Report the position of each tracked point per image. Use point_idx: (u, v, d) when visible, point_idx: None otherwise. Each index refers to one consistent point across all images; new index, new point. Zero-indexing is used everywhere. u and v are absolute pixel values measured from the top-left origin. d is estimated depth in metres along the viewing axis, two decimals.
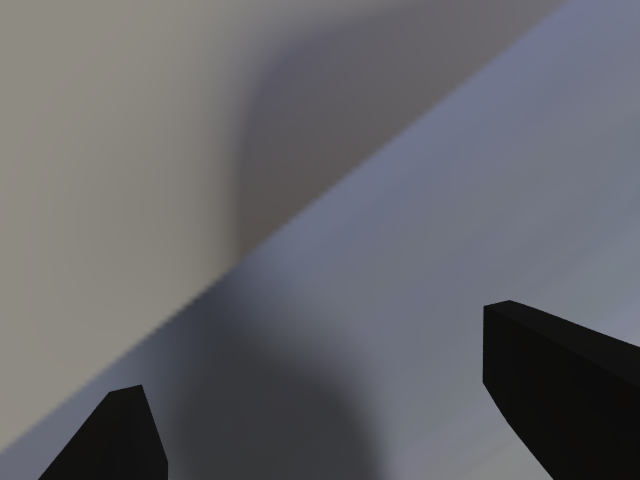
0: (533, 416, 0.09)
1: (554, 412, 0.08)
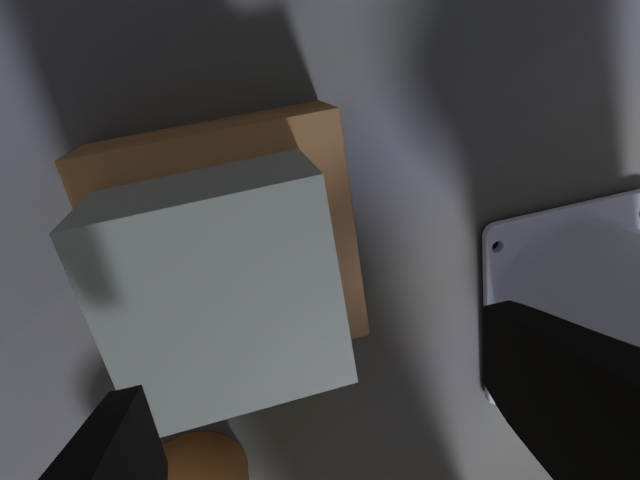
0: (533, 416, 0.09)
1: (554, 412, 0.08)
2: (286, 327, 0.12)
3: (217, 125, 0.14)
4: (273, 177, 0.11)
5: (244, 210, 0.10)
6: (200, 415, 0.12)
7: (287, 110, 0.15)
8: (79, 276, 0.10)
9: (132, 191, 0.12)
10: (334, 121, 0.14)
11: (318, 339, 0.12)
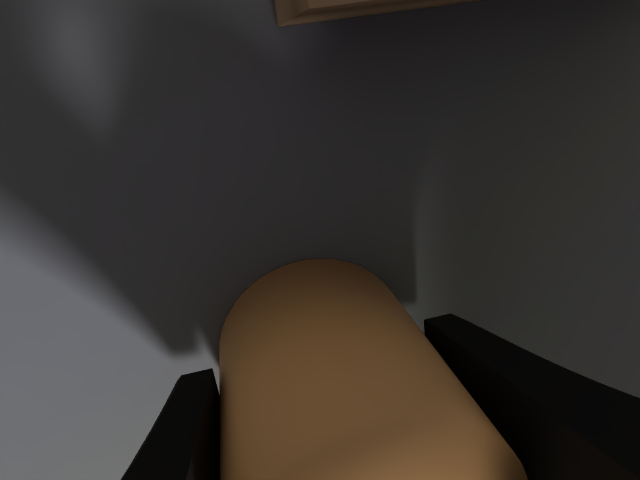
0: None
1: None
2: None
3: None
4: None
5: None
6: None
7: None
8: None
9: None
10: None
11: None
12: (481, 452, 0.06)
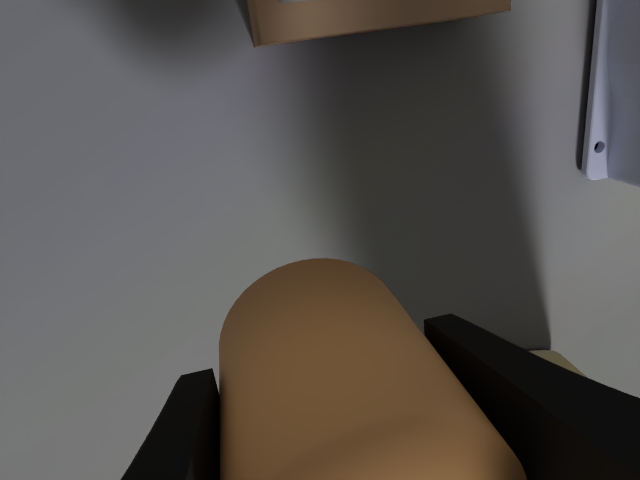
0: None
1: None
2: None
3: None
4: None
5: None
6: None
7: None
8: None
9: None
10: None
11: None
12: (480, 453, 0.06)
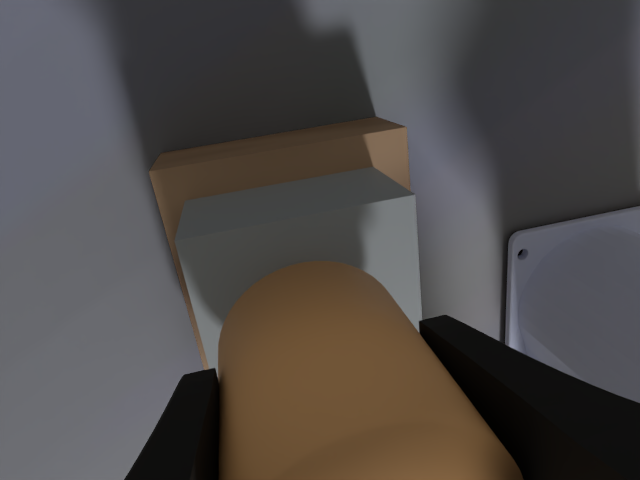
0: None
1: None
2: None
3: (290, 140, 0.15)
4: (366, 195, 0.12)
5: (343, 224, 0.12)
6: None
7: (352, 127, 0.16)
8: (195, 279, 0.11)
9: (229, 202, 0.13)
10: (401, 139, 0.15)
11: None
12: (481, 458, 0.06)
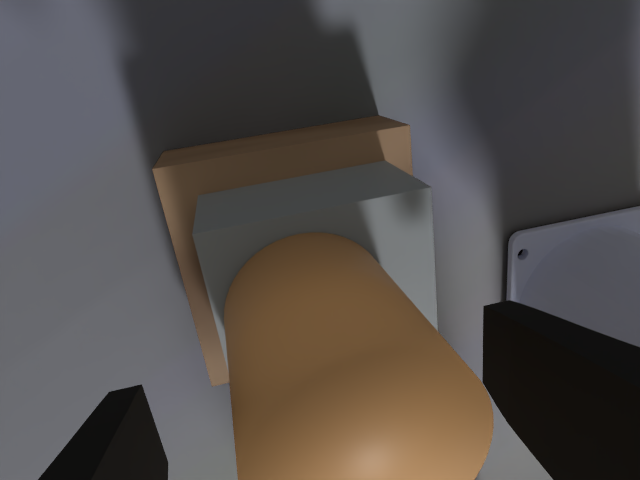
0: (533, 416, 0.09)
1: (554, 412, 0.08)
2: None
3: (293, 138, 0.15)
4: (382, 188, 0.12)
5: (360, 218, 0.12)
6: None
7: (355, 125, 0.16)
8: (212, 273, 0.11)
9: (243, 196, 0.13)
10: (405, 137, 0.15)
11: None
12: (453, 379, 0.07)
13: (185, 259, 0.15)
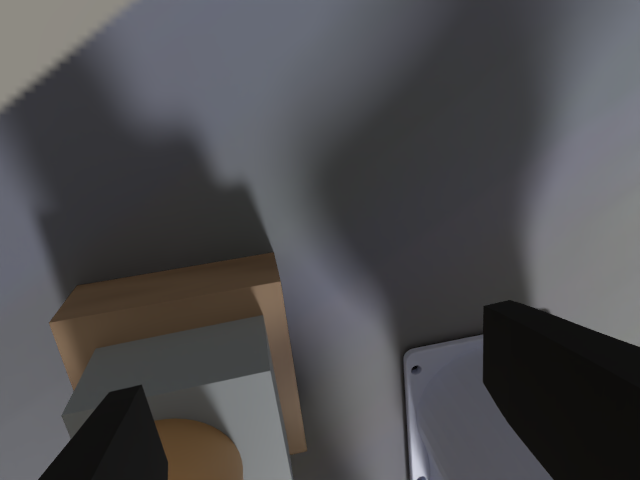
0: (533, 416, 0.09)
1: (554, 412, 0.08)
2: None
3: (184, 284, 0.17)
4: (234, 365, 0.14)
5: (209, 396, 0.14)
6: None
7: (243, 269, 0.18)
8: None
9: (127, 358, 0.15)
10: (276, 291, 0.17)
11: None
12: None
13: None
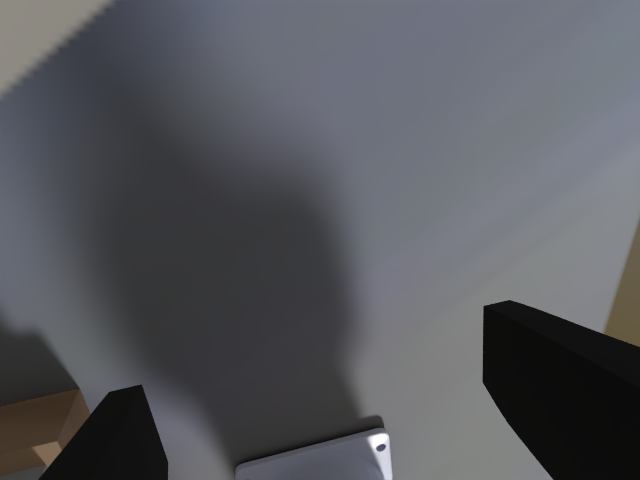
0: (533, 416, 0.09)
1: (554, 412, 0.08)
2: None
3: None
4: None
5: None
6: None
7: (36, 417, 0.19)
8: None
9: None
10: (55, 450, 0.17)
11: None
12: None
13: None
